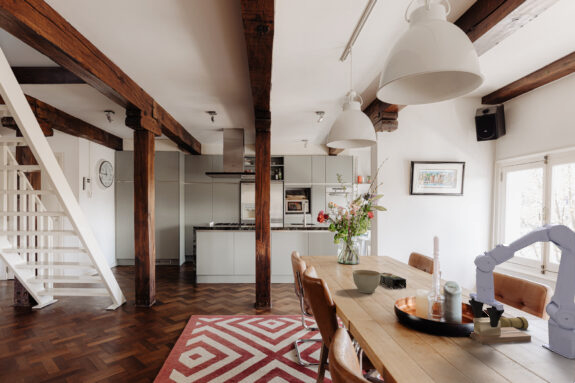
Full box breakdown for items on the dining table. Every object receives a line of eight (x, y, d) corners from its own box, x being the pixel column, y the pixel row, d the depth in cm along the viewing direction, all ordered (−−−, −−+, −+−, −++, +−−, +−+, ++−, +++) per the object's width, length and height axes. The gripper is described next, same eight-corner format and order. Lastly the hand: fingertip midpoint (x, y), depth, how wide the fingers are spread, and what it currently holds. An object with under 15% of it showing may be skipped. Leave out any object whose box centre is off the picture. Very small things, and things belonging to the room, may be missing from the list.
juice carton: (375, 281, 202) (375, 271, 202) (388, 280, 204) (388, 271, 205) (392, 289, 183) (392, 279, 183) (407, 289, 185) (407, 278, 185)
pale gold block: (500, 334, 114) (500, 321, 114) (480, 336, 113) (480, 322, 113) (492, 330, 118) (491, 317, 118) (472, 331, 117) (472, 318, 117)
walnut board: (531, 341, 113) (530, 335, 113) (482, 344, 111) (482, 338, 111) (512, 332, 121) (512, 327, 121) (466, 334, 119) (466, 329, 119)
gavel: (470, 305, 144) (490, 305, 145) (470, 315, 143) (490, 315, 144) (505, 319, 123) (528, 318, 124) (506, 331, 123) (529, 330, 123)
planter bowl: (376, 297, 167) (376, 277, 167) (348, 292, 175) (348, 273, 176) (384, 290, 181) (383, 271, 181) (357, 286, 189) (357, 268, 189)
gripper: (462, 282, 123) (463, 316, 122) (490, 292, 108) (491, 331, 108) (478, 281, 124) (479, 315, 123) (508, 291, 109) (509, 330, 109)
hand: (486, 323), depth 115 cm, fingers open, 7 cm apart
